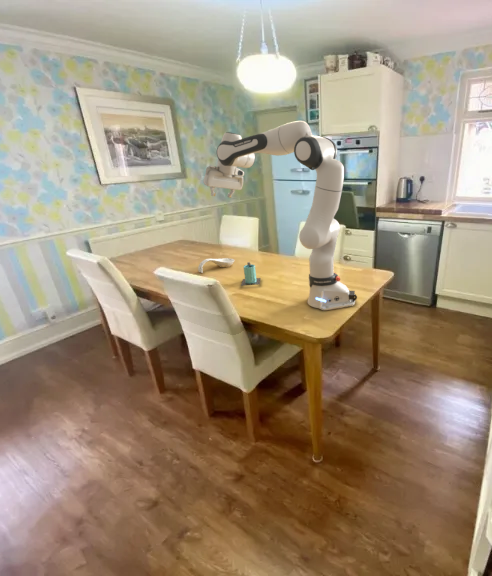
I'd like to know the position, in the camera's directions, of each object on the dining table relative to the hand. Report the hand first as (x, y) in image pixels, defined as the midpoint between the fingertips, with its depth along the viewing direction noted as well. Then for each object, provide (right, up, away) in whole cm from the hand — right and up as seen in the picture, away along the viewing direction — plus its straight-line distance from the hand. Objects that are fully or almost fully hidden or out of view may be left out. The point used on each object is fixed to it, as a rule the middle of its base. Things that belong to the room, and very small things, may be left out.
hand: (221, 196), depth 158 cm
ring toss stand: (+11, -43, +18) cm, 48 cm away
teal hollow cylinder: (+11, -42, +17) cm, 47 cm away
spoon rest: (-16, -33, +45) cm, 58 cm away
